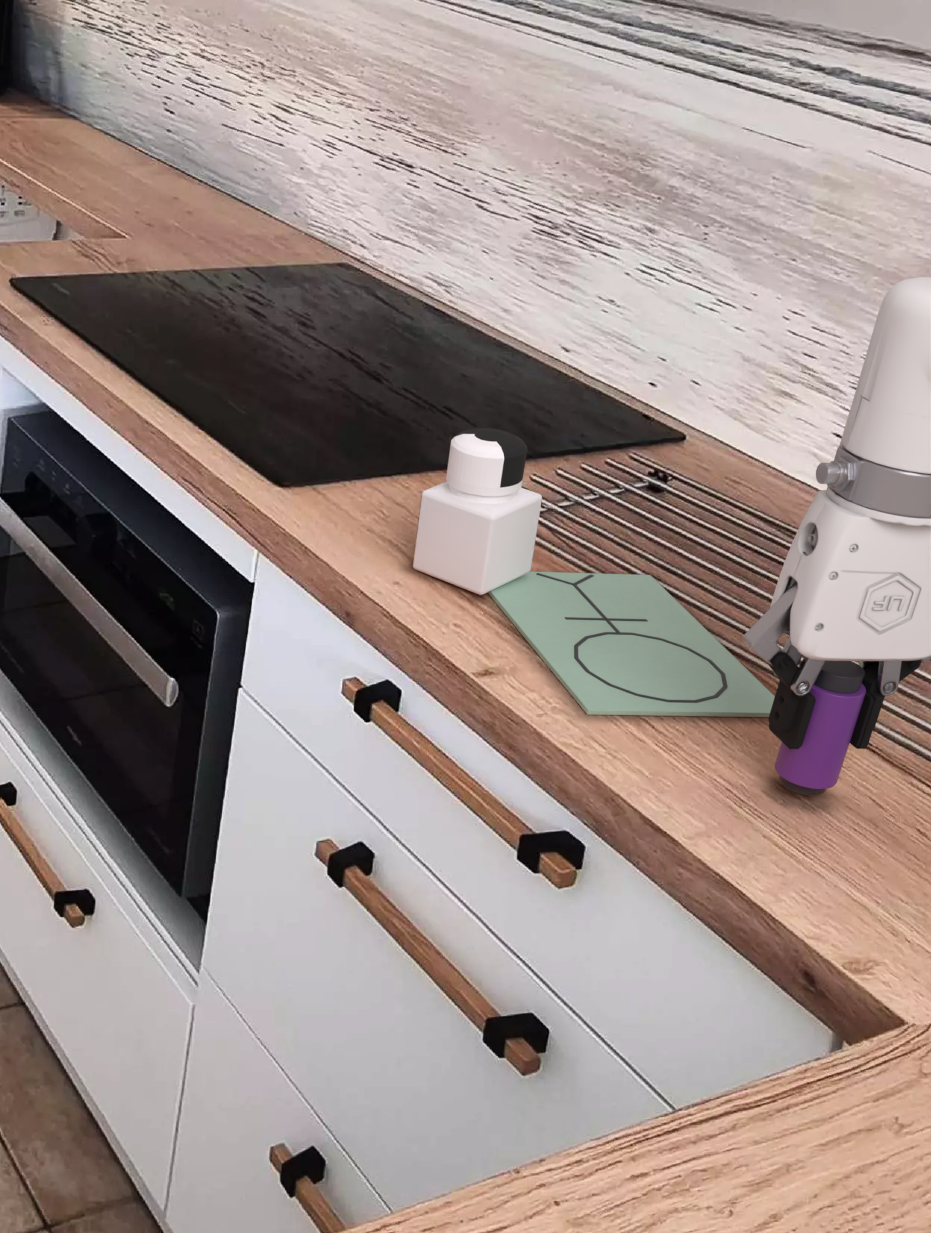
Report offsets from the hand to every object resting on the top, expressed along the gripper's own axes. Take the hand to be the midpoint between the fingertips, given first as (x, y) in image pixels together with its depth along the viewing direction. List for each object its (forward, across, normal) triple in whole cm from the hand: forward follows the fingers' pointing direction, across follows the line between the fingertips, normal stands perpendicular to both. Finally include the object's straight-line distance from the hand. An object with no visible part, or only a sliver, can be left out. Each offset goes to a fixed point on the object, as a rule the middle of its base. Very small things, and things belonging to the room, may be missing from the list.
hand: (817, 736), depth 117 cm
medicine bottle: (+3, -11, +34) cm, 36 cm away
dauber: (+4, 0, 0) cm, 4 cm away
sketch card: (+4, -3, +23) cm, 23 cm away
